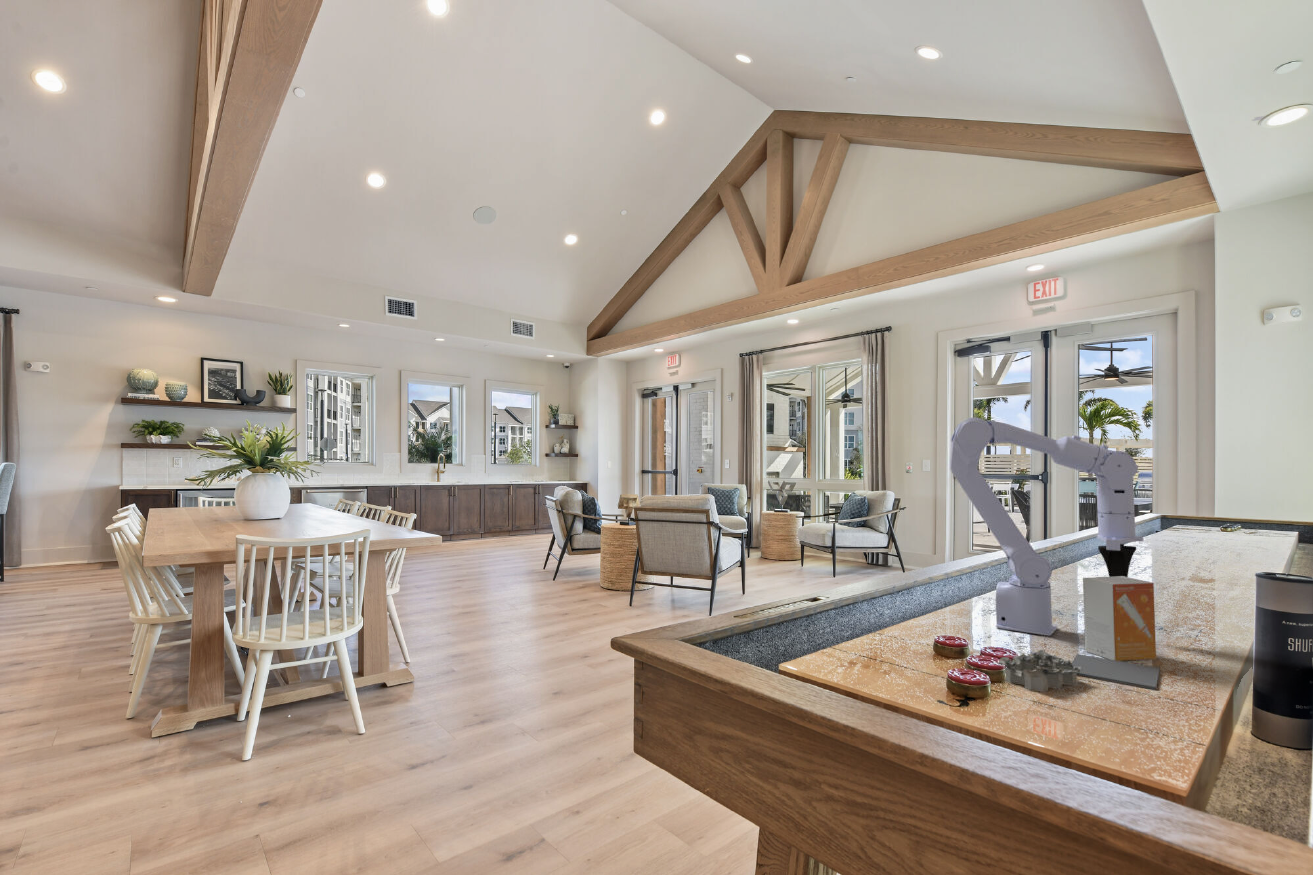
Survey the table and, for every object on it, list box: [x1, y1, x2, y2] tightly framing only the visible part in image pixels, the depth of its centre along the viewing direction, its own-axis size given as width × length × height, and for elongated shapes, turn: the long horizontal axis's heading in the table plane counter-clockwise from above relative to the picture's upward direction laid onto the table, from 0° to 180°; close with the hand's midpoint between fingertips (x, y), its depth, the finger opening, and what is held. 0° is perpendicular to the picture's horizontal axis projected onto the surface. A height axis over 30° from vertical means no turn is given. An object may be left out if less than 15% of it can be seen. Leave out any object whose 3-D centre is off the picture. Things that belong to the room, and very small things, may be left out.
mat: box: [1071, 653, 1161, 691], centre depth 97 cm, size 11×11×1 cm
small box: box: [1082, 576, 1157, 662], centre depth 106 cm, size 8×6×13 cm
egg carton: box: [998, 649, 1082, 693], centre depth 94 cm, size 10×7×4 cm
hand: (1118, 584), depth 117 cm, fingers closed
